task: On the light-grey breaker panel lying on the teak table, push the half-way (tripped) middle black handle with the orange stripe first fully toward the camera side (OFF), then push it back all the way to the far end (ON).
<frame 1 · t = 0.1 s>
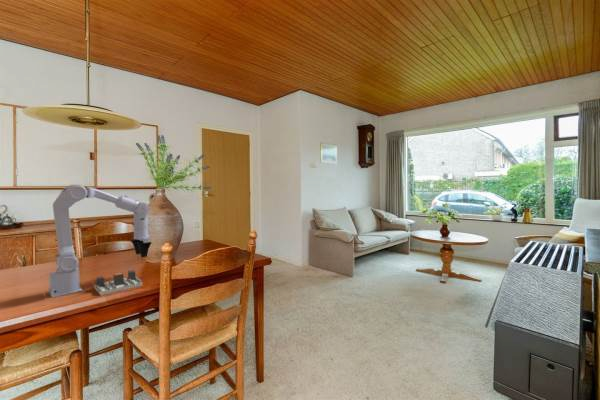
hand: (141, 255, 133), 10 cm above the table, fingers open, 7 cm apart
panel: (118, 286, 118), on the table
tripped breaker: (118, 278, 118), point 4 cm above the table, slide at 3.0 cm
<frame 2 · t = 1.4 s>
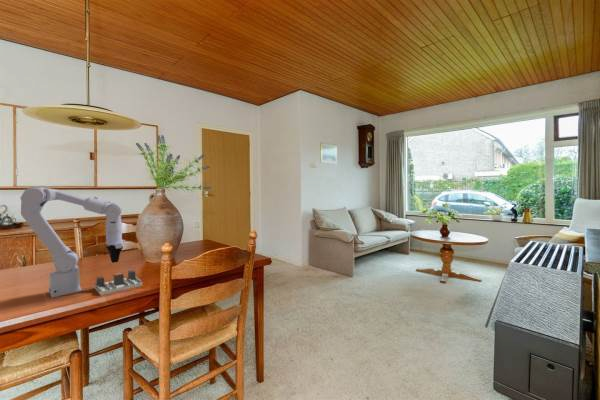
hand: (114, 262, 121), 10 cm above the table, fingers closed
nothing on the table moved.
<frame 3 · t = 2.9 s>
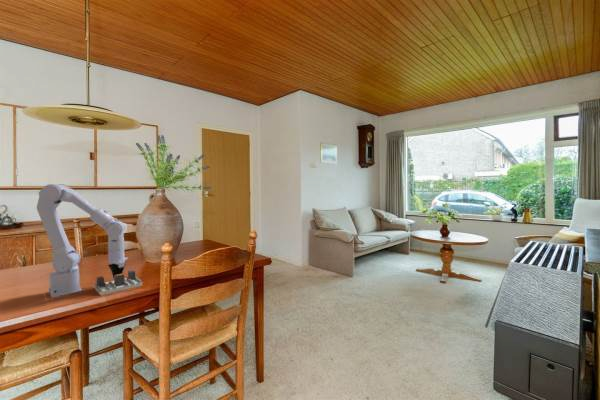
hand: (117, 280, 119), 2 cm above the table, fingers closed
tripped breaker: (119, 279, 117), point 4 cm above the table, slide at 1.8 cm, touching gripper
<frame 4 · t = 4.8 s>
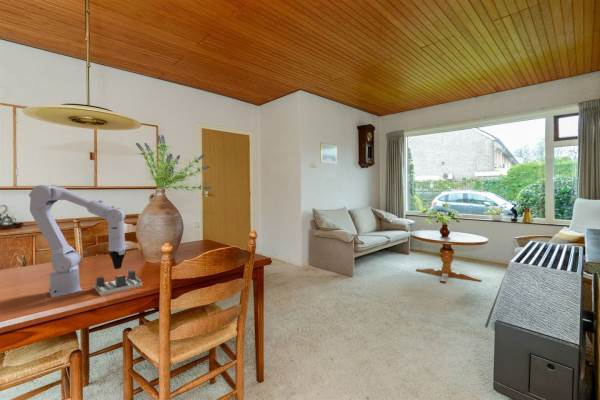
hand: (117, 268, 118), 8 cm above the table, fingers closed
tripped breaker: (120, 280, 116), point 4 cm above the table, slide at 0.0 cm
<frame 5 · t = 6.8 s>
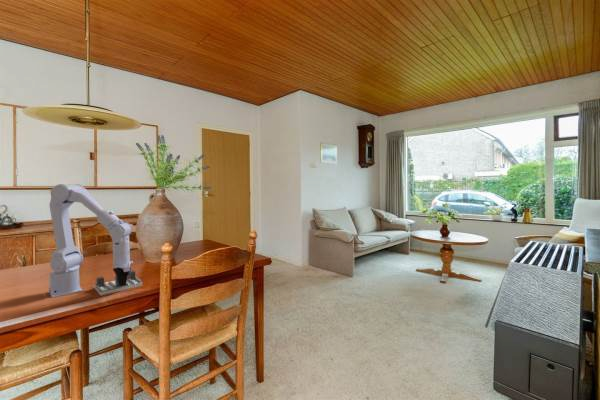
hand: (122, 284, 114), 2 cm above the table, fingers closed
tripped breaker: (120, 280, 116), point 4 cm above the table, slide at 0.3 cm, touching gripper
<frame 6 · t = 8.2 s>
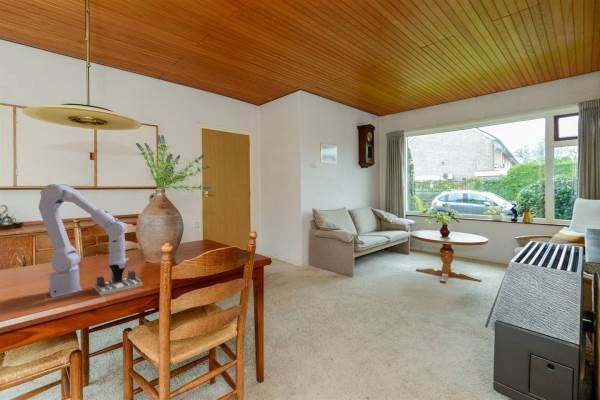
hand: (118, 281, 119), 2 cm above the table, fingers closed
tripped breaker: (116, 277, 120), point 4 cm above the table, slide at 6.2 cm, touching gripper
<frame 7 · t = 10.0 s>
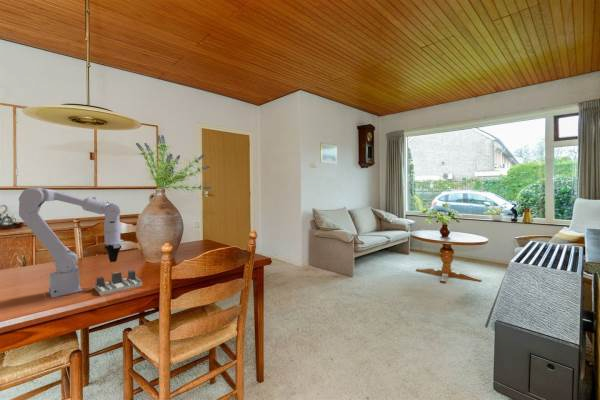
hand: (113, 261, 122), 10 cm above the table, fingers closed
tripped breaker: (116, 277, 120), point 4 cm above the table, slide at 6.0 cm
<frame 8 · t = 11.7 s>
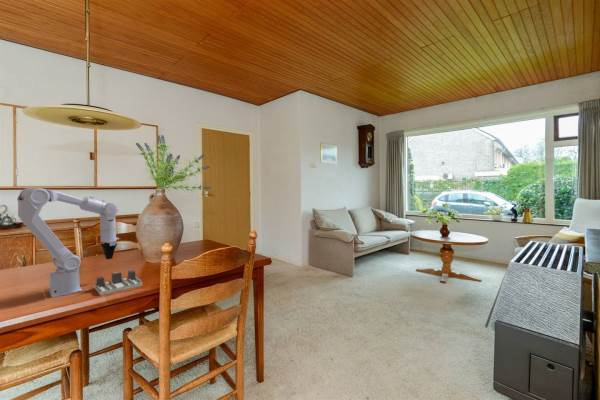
hand: (109, 258, 126), 10 cm above the table, fingers closed
nothing on the table moved.
at the end: tripped breaker slide at 6.0 cm; the gripper is holding nothing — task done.
